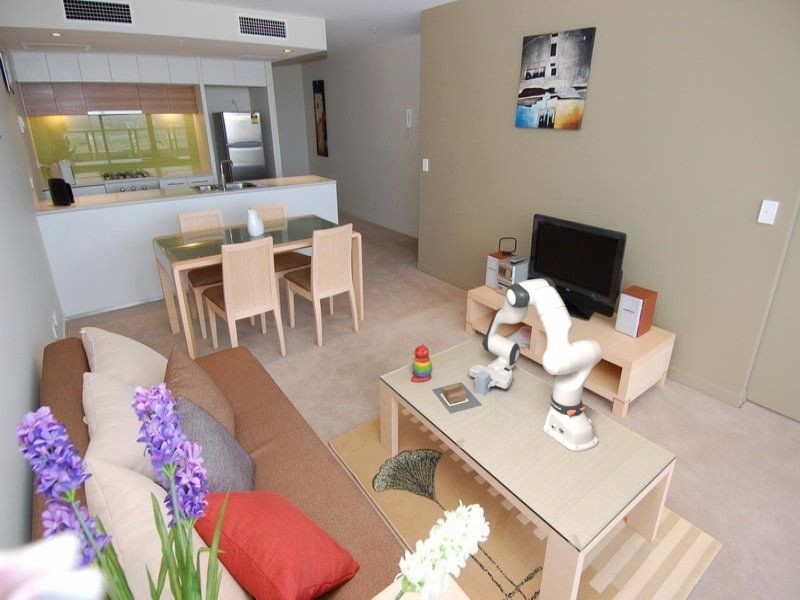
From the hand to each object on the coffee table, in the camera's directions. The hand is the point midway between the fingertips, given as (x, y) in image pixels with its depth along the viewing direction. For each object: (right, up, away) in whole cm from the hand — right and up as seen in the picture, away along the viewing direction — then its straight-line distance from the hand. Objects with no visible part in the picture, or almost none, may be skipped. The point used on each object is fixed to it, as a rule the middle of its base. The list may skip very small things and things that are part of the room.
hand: (481, 383), depth 215 cm
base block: (-13, -6, -1) cm, 14 cm away
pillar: (+1, -5, +3) cm, 6 cm away
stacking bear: (-27, 0, +16) cm, 31 cm away
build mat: (-12, -7, 0) cm, 14 cm away
